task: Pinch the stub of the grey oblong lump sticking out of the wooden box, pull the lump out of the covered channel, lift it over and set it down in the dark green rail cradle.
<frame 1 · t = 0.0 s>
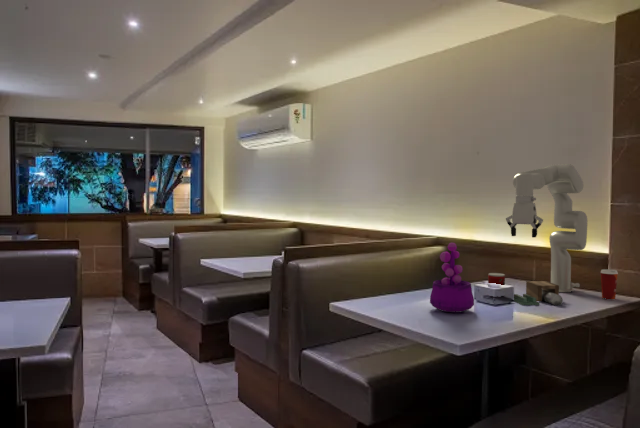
hand: (523, 236, 233), 31 cm above the table, tool pointing down, fingers open, 9 cm apart
canned food: (496, 296, 251), on the table
decorative plant: (451, 311, 218), on the table
cradle: (524, 302, 235), on the table
grey oblong lump: (548, 302, 237), on the table
wooden box: (541, 299, 243), on the table
paper cup: (608, 299, 244), on the table
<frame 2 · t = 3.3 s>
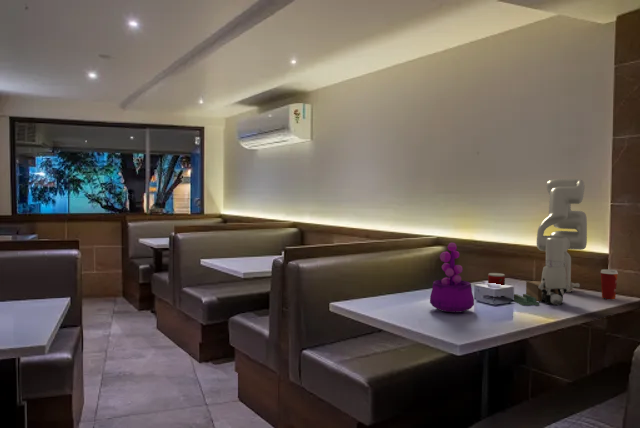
hand: (553, 302, 232), 1 cm above the table, tool pointing down, fingers closed on grey oblong lump, 5 cm apart
grey oblong lump: (548, 301, 237), on the table, touching gripper
everything else where it was.
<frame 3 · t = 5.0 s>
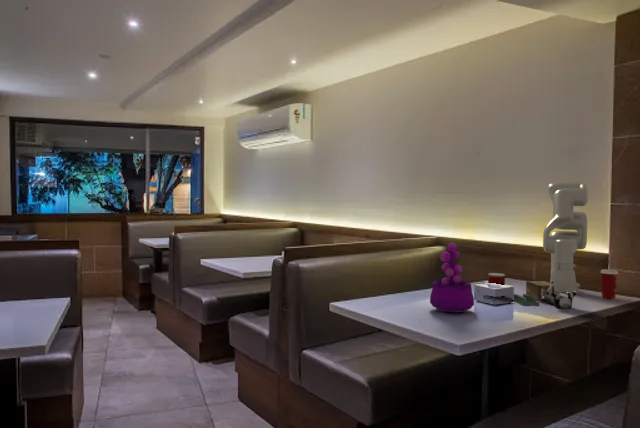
hand: (562, 306, 224), 0 cm above the table, tool pointing down, fingers closed on grey oblong lump, 5 cm apart
grey oblong lump: (557, 305, 229), on the table, touching gripper
everything else where it was.
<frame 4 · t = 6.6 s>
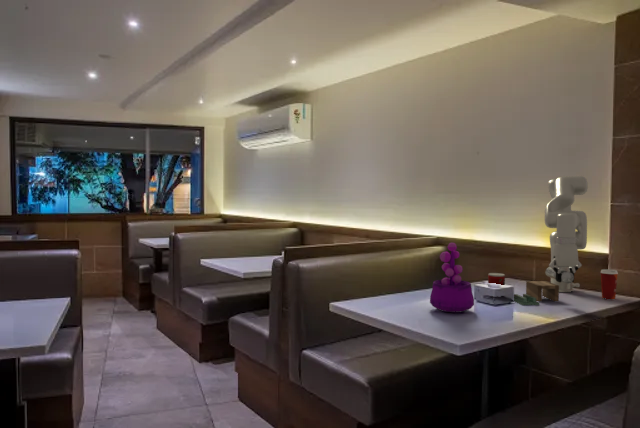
hand: (564, 281, 223), 12 cm above the table, tool pointing down, fingers closed on grey oblong lump, 5 cm apart
grey oblong lump: (559, 280, 228), point 12 cm above the table, touching gripper
everything else where it was.
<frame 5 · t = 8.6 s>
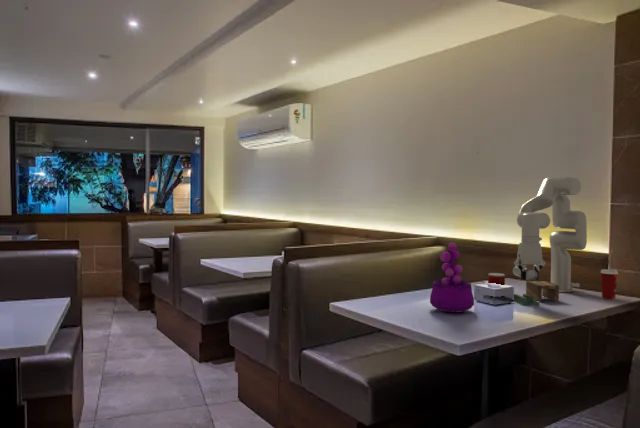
hand: (529, 279, 230), 12 cm above the table, tool pointing down, fingers closed on grey oblong lump, 5 cm apart
grey oblong lump: (524, 278, 235), point 11 cm above the table, touching gripper
everything else where it was.
when the fingers open (4 cm above the table, at t = 10.3 s): grey oblong lump stays where it is, resting on cradle.
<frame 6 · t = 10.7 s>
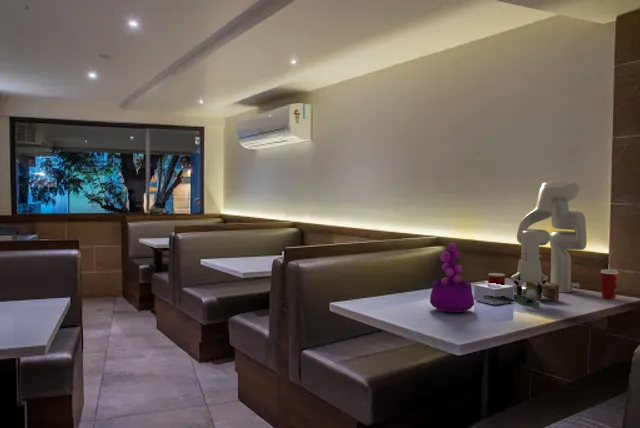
hand: (529, 294, 231), 5 cm above the table, tool pointing down, fingers open, 9 cm apart
grey oblong lump: (525, 297, 236), point 3 cm above the table, tilted 7°, touching cradle
everything else where it was.
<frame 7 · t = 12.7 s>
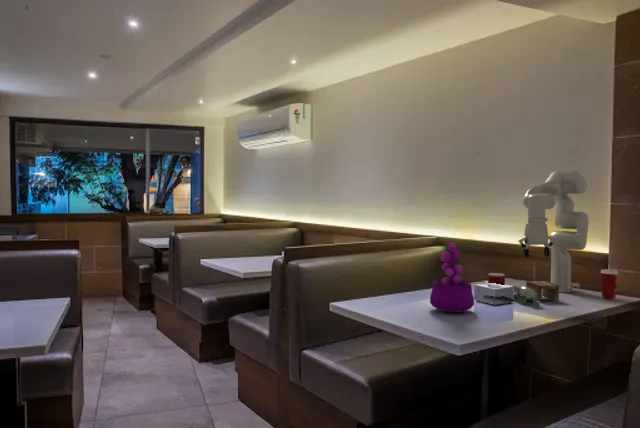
hand: (536, 256, 237), 21 cm above the table, tool pointing down, fingers open, 9 cm apart
nothing on the table moved.
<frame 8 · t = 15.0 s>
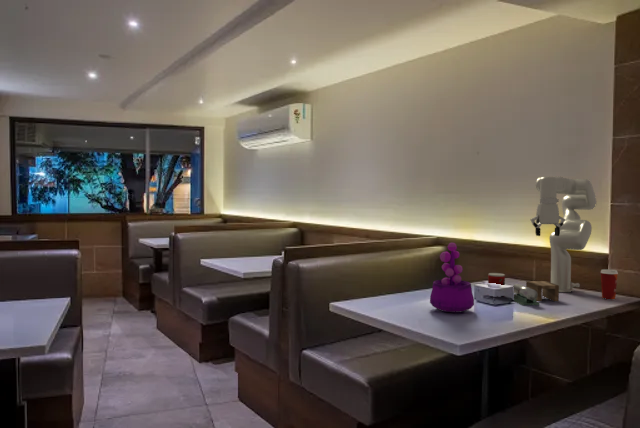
hand: (547, 235, 249), 30 cm above the table, tool pointing down, fingers open, 9 cm apart
nothing on the table moved.
at the end: grey oblong lump 0.4 cm off-centre on the cradle, point 2.5 cm above the cradle's base; grey oblong lump touching cradle; the gripper is holding nothing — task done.
